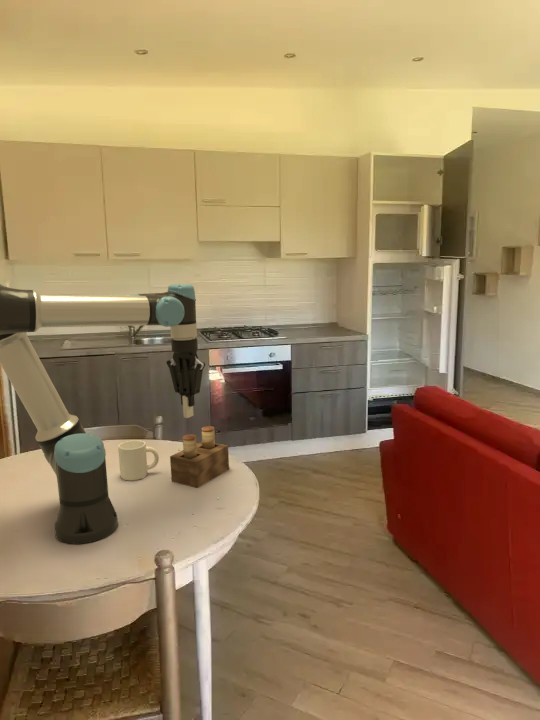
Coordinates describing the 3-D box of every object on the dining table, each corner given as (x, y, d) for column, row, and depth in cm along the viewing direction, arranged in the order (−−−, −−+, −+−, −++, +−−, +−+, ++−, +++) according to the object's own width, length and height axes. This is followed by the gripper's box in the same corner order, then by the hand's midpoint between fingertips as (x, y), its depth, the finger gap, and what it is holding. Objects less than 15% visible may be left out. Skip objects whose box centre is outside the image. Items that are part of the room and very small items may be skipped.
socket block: (197, 487, 162) (196, 462, 161) (171, 481, 168) (170, 456, 166) (229, 469, 176) (228, 445, 174) (204, 463, 181) (203, 440, 179)
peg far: (210, 453, 172) (209, 430, 170) (199, 451, 174) (198, 429, 172) (217, 449, 175) (216, 427, 173) (207, 447, 177) (206, 425, 176)
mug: (159, 468, 178) (157, 437, 176) (160, 478, 170) (158, 446, 168) (120, 472, 176) (118, 441, 174) (120, 482, 168) (117, 450, 166)
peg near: (191, 463, 164) (190, 439, 163) (181, 461, 166) (179, 437, 165) (200, 459, 167) (198, 435, 166) (189, 456, 169) (188, 433, 168)
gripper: (210, 337, 159) (213, 416, 164) (175, 335, 166) (179, 410, 171) (193, 341, 153) (197, 422, 158) (158, 338, 160) (163, 416, 164)
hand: (188, 416), depth 164 cm, fingers closed
